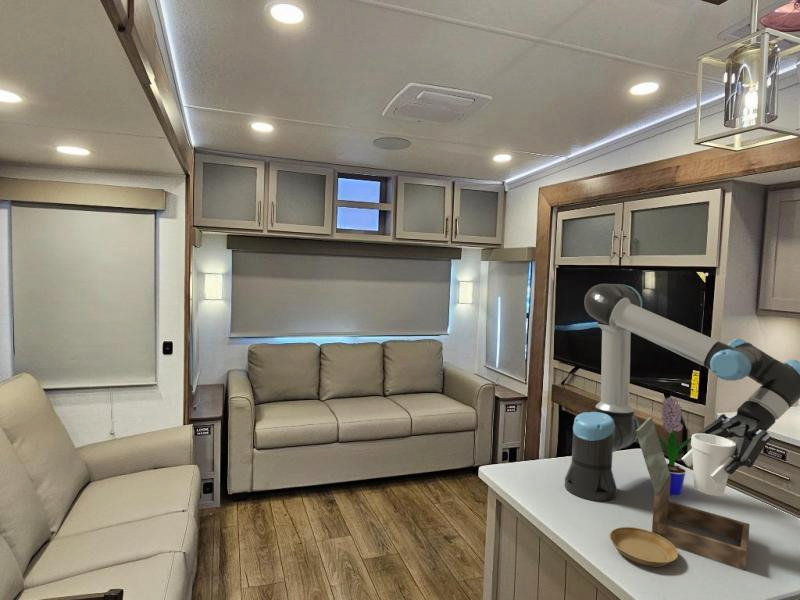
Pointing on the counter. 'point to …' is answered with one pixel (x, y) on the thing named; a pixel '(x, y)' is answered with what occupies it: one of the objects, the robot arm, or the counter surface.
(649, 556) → the plant saucer
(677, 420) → the hyacinth
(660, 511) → the cold frame
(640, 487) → the counter surface
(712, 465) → the foam cup
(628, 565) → the counter surface
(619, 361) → the robot arm
